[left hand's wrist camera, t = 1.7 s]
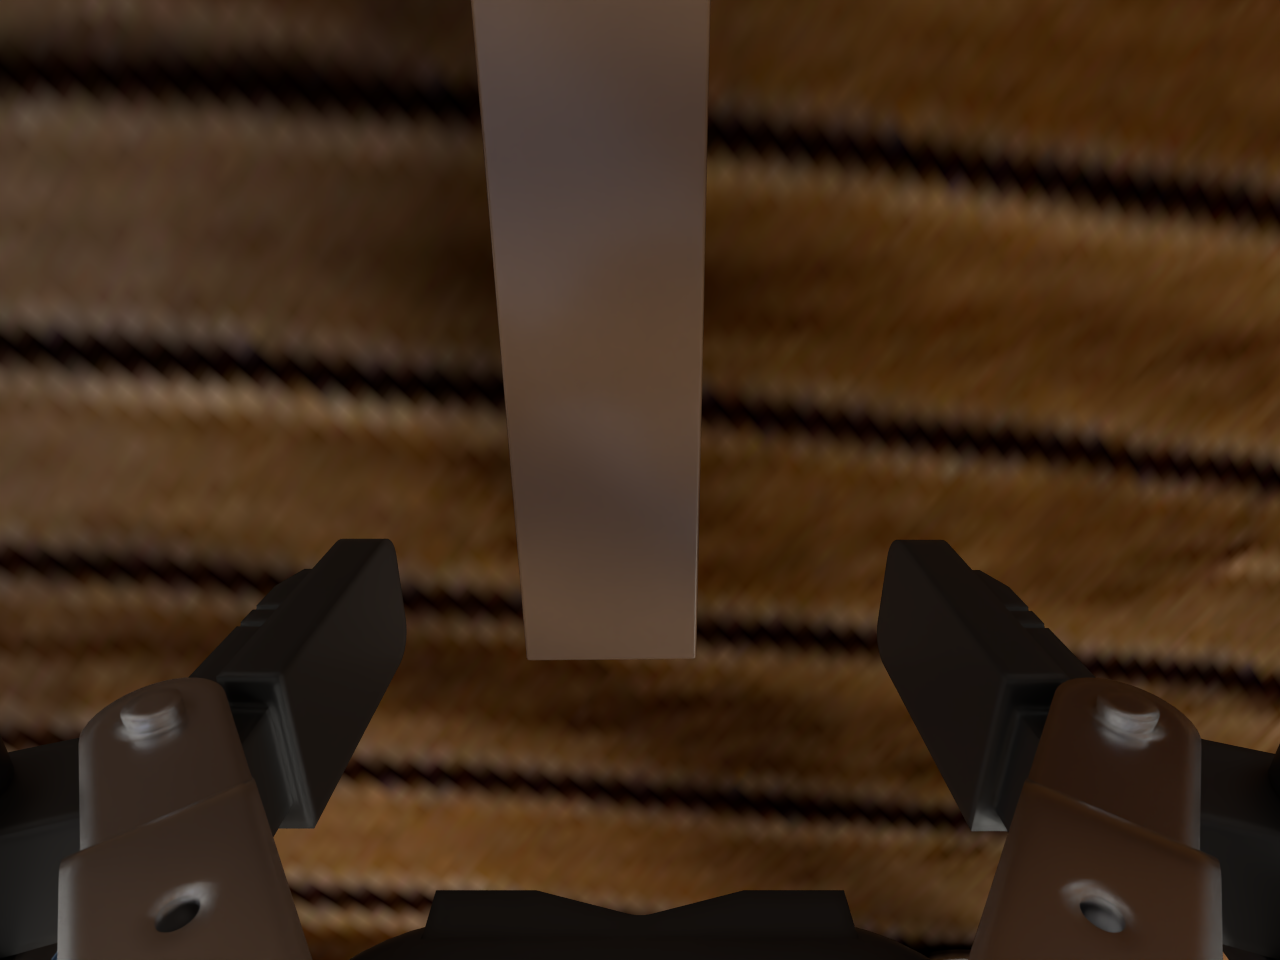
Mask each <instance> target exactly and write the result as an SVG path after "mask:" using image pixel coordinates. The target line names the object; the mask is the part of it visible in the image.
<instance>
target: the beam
mask: <svg viewBox="0 0 1280 960" xmlns="http://www.w3.org/2000/svg"><path fill="white" fill-rule="evenodd" d="M471 9H472V21H473V33H474V45H475V56H476V68H477V80H478V91H479V103H480V115H481V127H482V138H483V150H484V162H485V173H486V185H487V197H488V209H489V220H490V232H491V244H492V255H493V267H494V279H495V291H496V302H497V314H498V326H499V337H500V349H501V361H502V373H503V384H504V396H505V408H506V419H507V431H508V443H509V454H510V466H511V478H512V490H513V501H514V513H515V525H516V536H517V548H518V560H519V572H520V583H521V595H522V607H523V618H524V630H525V642H526V654H527V659H528V660H607V659H694V658H695V657H696V637H697V591H698V546H699V500H700V454H701V408H702V362H703V316H704V271H705V225H706V179H707V133H708V87H709V42H710V0H471Z"/></svg>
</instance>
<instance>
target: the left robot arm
mask: <svg viewBox="0 0 1280 960" xmlns="http://www.w3.org/2000/svg"><path fill="white" fill-rule="evenodd" d="M877 640H878V648H879V653H880V657H881V660H882V662H883V664H884V666H885V668H886V670H887V672H888V674H889V676H890V678H891V680H892V682H893V683H894V685H895V687H896V689H897V691H898V693H899V695H900V697H901V699H902V701H903V702H904V704H905V706H906V708H907V710H908V712H909V714H910V716H911V718H912V720H913V721H914V723H915V725H916V727H917V729H918V731H919V733H920V735H921V737H922V739H923V740H924V742H925V744H926V746H927V748H928V750H929V752H930V754H931V756H932V758H933V759H934V761H935V763H936V765H937V767H938V769H939V771H940V773H941V775H942V776H943V778H944V780H945V782H946V784H947V786H948V788H949V790H950V792H951V794H952V795H953V797H954V799H955V801H956V803H957V805H958V807H959V809H960V811H961V813H962V814H963V816H964V818H965V820H966V822H967V824H968V826H969V828H970V830H971V831H1008V835H1007V839H1006V842H1005V845H1004V848H1003V851H1002V854H1001V857H1000V861H999V864H998V867H997V870H996V873H995V876H994V879H993V883H992V886H991V889H990V892H989V895H988V898H987V901H986V905H985V908H984V911H983V914H982V917H981V920H980V923H979V927H978V930H977V933H976V936H975V939H974V942H973V945H972V949H971V950H962V949H954V950H940V951H934V952H928V953H924V954H921V953H919V952H917V951H915V950H913V949H911V948H909V947H907V946H905V945H903V944H901V943H898V942H896V941H894V940H892V939H889V938H886V937H884V936H881V935H878V934H876V933H873V932H870V931H867V930H864V929H860V928H856V927H854V923H853V920H852V916H851V913H850V910H849V906H848V903H847V900H846V896H845V893H844V890H743V891H739V892H736V893H732V894H728V895H724V896H720V897H716V898H712V899H708V900H704V901H700V902H697V903H693V904H689V905H685V906H681V907H677V908H673V909H669V910H665V911H661V912H657V913H654V914H649V915H631V914H626V913H623V912H619V911H615V910H611V909H607V908H603V907H599V906H595V905H591V904H587V903H583V902H580V901H576V900H572V899H568V898H564V897H560V896H556V895H552V894H548V893H544V892H541V891H537V890H436V893H435V896H434V900H433V903H432V906H431V910H430V913H429V916H428V920H427V923H426V927H424V928H420V929H417V930H413V931H410V932H407V933H404V934H402V935H399V936H396V937H394V938H391V939H388V940H386V941H384V942H382V943H379V944H377V945H375V946H373V947H371V948H369V949H367V950H365V951H363V952H361V953H359V954H358V955H356V956H354V957H353V958H351V959H349V960H1223V952H1224V954H1225V955H1226V956H1227V958H1228V959H1229V960H1280V744H1279V747H1278V749H1277V751H1276V754H1272V753H1267V752H1262V751H1257V750H1253V749H1248V748H1243V747H1238V746H1233V745H1228V744H1223V743H1218V742H1214V741H1209V740H1204V739H1201V738H1200V735H1199V733H1198V731H1197V729H1196V728H1195V726H1194V725H1193V724H1192V722H1191V721H1190V720H1189V719H1188V718H1187V717H1186V716H1185V715H1184V714H1183V713H1181V712H1180V711H1179V710H1178V709H1176V708H1175V707H1174V706H1172V705H1170V704H1169V703H1167V702H1166V701H1164V700H1162V699H1161V698H1159V697H1157V696H1155V695H1153V694H1151V693H1149V692H1147V691H1144V690H1142V689H1139V688H1137V687H1134V686H1131V685H1128V684H1125V683H1121V682H1118V681H1113V680H1108V679H1102V678H1096V677H1095V676H1094V675H1093V674H1092V673H1091V672H1090V671H1089V670H1088V669H1087V668H1086V667H1085V666H1084V665H1083V664H1082V663H1081V662H1080V661H1079V660H1078V658H1077V657H1076V656H1075V655H1074V654H1073V653H1072V652H1071V651H1070V650H1069V649H1068V648H1067V647H1066V646H1065V645H1064V644H1063V643H1062V642H1061V641H1060V640H1059V639H1058V638H1057V637H1056V636H1055V635H1054V633H1053V632H1052V631H1051V630H1050V629H1049V628H1044V623H1043V622H1042V621H1041V620H1040V619H1039V618H1038V617H1037V616H1036V615H1035V614H1034V613H1033V612H1032V611H1028V606H1027V605H1026V604H1025V603H1024V602H1023V601H1022V600H1021V599H1020V598H1019V597H1018V596H1017V595H1016V594H1015V593H1014V592H1013V591H1012V590H1011V589H1010V588H1009V587H1008V586H1006V585H1004V584H1003V583H1001V582H999V581H998V580H996V579H994V578H992V577H991V576H989V575H987V574H985V573H984V572H982V571H980V570H972V569H971V568H970V567H969V566H968V565H967V564H966V563H965V562H964V561H963V559H962V558H961V557H960V556H959V555H958V554H957V553H956V552H955V551H954V549H953V548H952V547H951V546H950V545H949V544H948V543H947V542H946V541H944V540H895V541H894V542H893V543H892V544H891V546H890V548H889V552H888V557H887V563H886V570H885V577H884V583H883V590H882V597H881V604H880V610H879V617H878V624H877ZM405 644H406V619H405V612H404V605H403V598H402V591H401V585H400V578H399V571H398V564H397V557H396V552H395V548H394V546H393V543H392V542H391V541H390V540H389V539H340V540H338V541H337V542H336V543H335V544H334V545H333V546H332V547H331V549H330V550H329V551H328V552H327V553H326V554H325V555H324V556H323V558H322V559H321V560H320V561H319V562H318V563H317V564H316V565H315V567H314V568H313V569H304V570H302V571H300V572H299V573H297V574H295V575H293V576H292V577H290V578H288V579H286V580H285V581H283V582H281V583H280V584H278V585H276V586H275V587H274V588H273V589H272V590H271V591H270V592H269V593H268V594H267V595H266V596H265V597H264V598H263V600H262V601H261V602H260V603H259V604H258V605H257V609H256V610H252V611H251V612H250V613H249V614H248V615H247V616H246V617H245V618H244V619H243V621H242V622H241V626H240V627H236V628H235V629H234V630H233V631H232V632H231V633H230V634H229V635H228V636H227V637H226V638H225V639H224V641H223V642H222V643H221V644H220V645H219V646H218V647H217V648H216V649H215V650H214V651H213V652H212V653H211V654H210V655H209V656H208V657H207V658H206V659H205V661H204V662H203V663H202V664H201V665H200V666H199V667H198V668H197V669H196V670H195V671H194V672H193V673H192V674H191V675H190V676H189V677H188V678H178V679H172V680H167V681H162V682H159V683H155V684H152V685H149V686H146V687H143V688H141V689H138V690H136V691H133V692H131V693H129V694H127V695H125V696H123V697H121V698H119V699H118V700H116V701H114V702H113V703H111V704H110V705H108V706H106V707H105V708H104V709H102V710H101V711H100V712H99V713H97V714H96V715H95V716H94V717H93V718H92V719H91V720H90V721H89V722H88V724H87V725H86V726H85V728H84V729H83V731H82V733H81V735H80V738H76V739H71V740H66V741H61V742H57V743H52V744H47V745H42V746H37V747H32V748H27V749H22V750H18V751H13V752H7V750H6V747H5V745H4V743H3V740H2V738H1V736H0V960H51V959H52V958H53V956H54V955H55V954H56V952H57V960H312V958H311V955H310V952H309V949H308V945H307V942H306V939H305V936H304V933H303V930H302V927H301V923H300V920H299V917H298V914H297V911H296V908H295V905H294V901H293V898H292V895H291V892H290V889H289V886H288V883H287V879H286V876H285V873H284V870H283V867H282V864H281V861H280V857H279V854H278V851H277V848H276V845H275V842H274V839H273V837H274V835H275V833H276V832H277V830H278V828H315V826H316V824H317V822H318V820H319V818H320V816H321V814H322V812H323V810H324V809H325V807H326V805H327V803H328V801H329V799H330V797H331V795H332V793H333V791H334V789H335V787H336V785H337V784H338V782H339V780H340V778H341V776H342V774H343V772H344V770H345V768H346V766H347V764H348V762H349V760H350V759H351V757H352V755H353V753H354V751H355V749H356V747H357V745H358V743H359V741H360V739H361V737H362V735H363V734H364V732H365V730H366V728H367V726H368V724H369V722H370V720H371V718H372V716H373V714H374V712H375V711H376V709H377V707H378V705H379V703H380V701H381V699H382V697H383V695H384V693H385V691H386V689H387V687H388V686H389V684H390V682H391V680H392V678H393V676H394V674H395V672H396V670H397V668H398V666H399V664H400V662H401V660H402V657H403V654H404V650H405Z"/></svg>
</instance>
